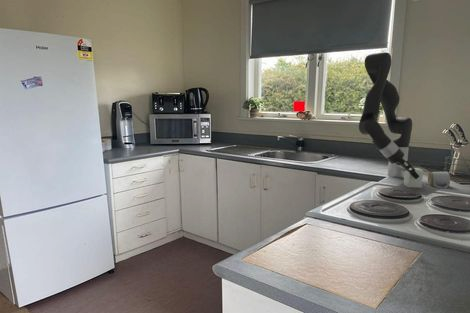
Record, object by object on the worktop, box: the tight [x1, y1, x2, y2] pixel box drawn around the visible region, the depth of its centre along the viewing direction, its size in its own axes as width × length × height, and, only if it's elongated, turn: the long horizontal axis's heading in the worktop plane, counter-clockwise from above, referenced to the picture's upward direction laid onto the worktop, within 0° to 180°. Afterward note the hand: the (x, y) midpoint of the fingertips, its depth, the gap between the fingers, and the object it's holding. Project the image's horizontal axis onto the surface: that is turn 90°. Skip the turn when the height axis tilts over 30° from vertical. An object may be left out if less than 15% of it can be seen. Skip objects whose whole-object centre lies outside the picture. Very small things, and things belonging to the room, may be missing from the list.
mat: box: [389, 182, 441, 197], centre depth 155 cm, size 20×16×1 cm
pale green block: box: [403, 167, 424, 188], centre depth 160 cm, size 6×6×8 cm
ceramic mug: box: [427, 171, 451, 189], centre depth 161 cm, size 11×8×8 cm
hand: (413, 175), depth 159 cm, fingers open, 8 cm apart
